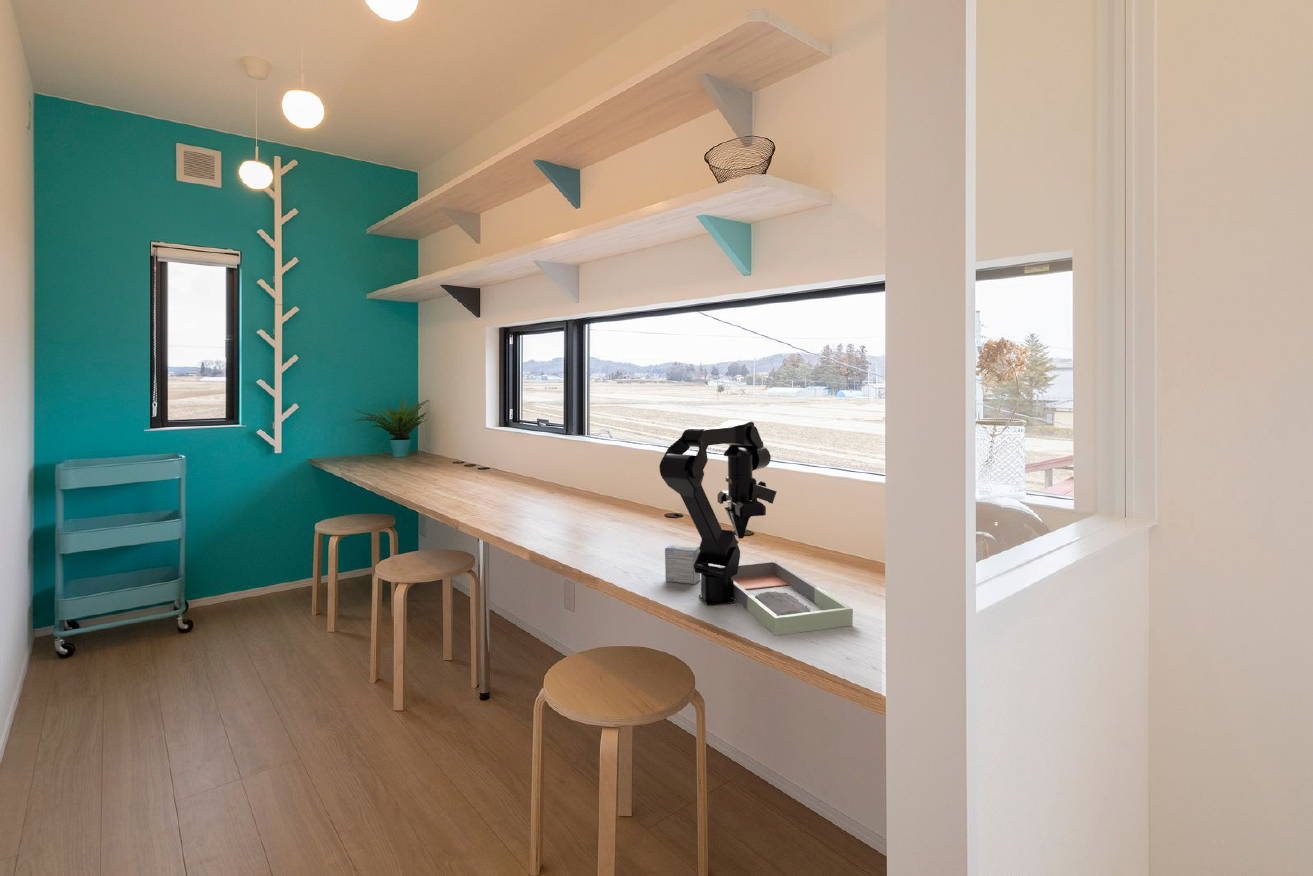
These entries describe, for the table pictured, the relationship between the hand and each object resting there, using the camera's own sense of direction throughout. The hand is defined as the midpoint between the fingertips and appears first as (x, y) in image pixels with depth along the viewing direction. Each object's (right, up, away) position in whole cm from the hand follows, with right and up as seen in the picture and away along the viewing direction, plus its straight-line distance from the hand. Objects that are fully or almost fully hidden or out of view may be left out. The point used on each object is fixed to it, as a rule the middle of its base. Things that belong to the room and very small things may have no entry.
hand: (740, 538), depth 157 cm
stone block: (+7, -14, -18) cm, 24 cm away
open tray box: (+7, -13, -9) cm, 17 cm away
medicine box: (-14, -12, +7) cm, 19 cm away
